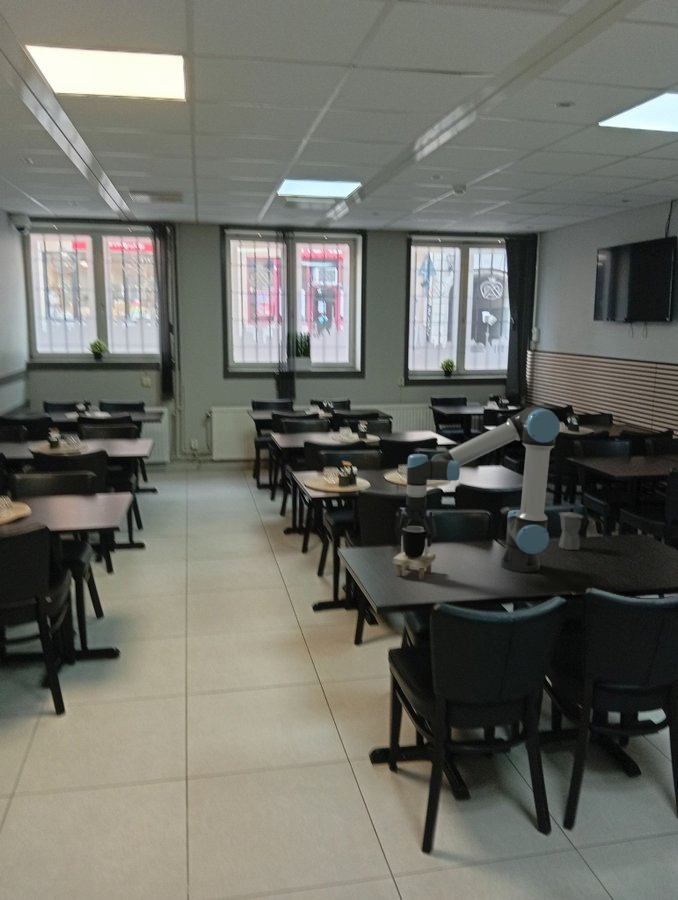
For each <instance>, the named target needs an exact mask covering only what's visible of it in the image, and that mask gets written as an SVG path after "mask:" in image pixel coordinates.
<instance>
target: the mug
mask: <svg viewBox="0 0 678 900" xmlns="http://www.w3.org/2000/svg"><path fill="white" fill-rule="evenodd" d="M426 538H427V536H426V530H425V531H424V529H423V527H422V526H420V525H418V526H417V525H408V526H407V527H406V528H405V529H404V528H403V547H404V552H405V554H406V555H407V556H410V557H420V556H422V554H423V553H425V539H426Z"/></svg>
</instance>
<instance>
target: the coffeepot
mask: <svg viewBox="0 0 678 900" xmlns="http://www.w3.org/2000/svg"><path fill="white" fill-rule="evenodd" d="M557 514H558V515H559V517H560V527H561V528H560V529H561V530H562V531H561V534H560V538H559V542H558V546H559V547H561V548H565V549H579V547H580V548H581V544H580V542H581V541H580V535H582V536H583V535H585V534H586V533H587V532H586V531H587V529H588V527H589V525H590V521H589V518H588V516H584V515H582V514H580V513H578V512H574V508H572V507H571V508H569V511H567V512H566V511H565V512H563V511H562V512H558V513H557ZM582 521H584V524H583V525H584V526H583V528H582V532H581V531H580V529H581V523H582ZM579 531H580V532H579ZM559 547H558V548H559ZM579 550H580V549H579Z"/></svg>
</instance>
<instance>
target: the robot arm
mask: <svg viewBox="0 0 678 900" xmlns="http://www.w3.org/2000/svg"><path fill="white" fill-rule="evenodd" d="M560 427H561V424H560V420H559V418H558V417H557V415H556V414H555V412H553V411H551V410H549V409H547V408H543V407H541V406H530V407H528V408H525V409H524V410H522V411H520V412H518V413H516V414H515V415H512V416H511V417H509V418H507V420H506V422H504V423H502V424H500V425H498V426H495V427H494V428H492V429H490V430H488V431H486V432H484V433H481V434H480V435H478V436H475V437H473V438H472V439H471V438H470V439H469V440H467V441H465V442H463V443H461V444H458V445H457V446H455V447H453V448H451V449H448V450H447V451H445V452H443V453H438V454H435V455H433V456H432V458H430V459H429V458H428V455H427V454H423V453H422V454H421V453H413V454H409V456H408V457H407V466H406V470H407V471H406V500H405V501H406V502H405V505H406V506H405V507H399V508H397V513H398V515H397V518H396V523H395V528H394V531H393V532H394V533H395V534H397V535H398V542H399V544H401V545H400V552H404V547H403V528H404V529H405V528H406V527H407V526H409V524H410V523H411V521H412V520H417V521H419V523H420V524H421V527H423V529H424V531H425V530H426V539H425V548H424V553H425V556H427V555H428V554H429V553H430V552H429V550H430V549H429V548H430V547H431V546H432V539H434V538H435V537H437V529H436V523H435V518H434V516H435V511H434V510H428V509H427V493H428V491H427V489H428V481H444V482H446V481H449V482H451V481H452V482H453V481H458V480H459V479H460V472H461V469H460V468H461V466H463V465H465V464H467V463H470V462H471V461H474V460H476V459H477V458H480V457H482V456H484V455H486V454H489V453H490V452H492V451H494V450H496V449H499V448H501V447H503V446H505V445H507V444H509V443H511V442H513V441H522V445H523V446H524V447H525V457H524V466H523V467H524V469H523V479H522V489H521V490H522V491H521V492H522V493H521V500H520V501H521V503H520V509H510V510H509V511H508V513H507V517H506V518H507V519H506V520H507V524H506V526H507V527H506V543H505V544H506V545H505V549H504V551H503V554H502V555H501V558H500V566H501V567H502V568H503V569H505V570H508V571H511V572H517V573H533V572H536V571H540V568H541V567H540V565H541V563H540V559H539V555H538V554H539V553H540V552H542V551H544V550H545V549H546V548H547V547H548V545H549V543H550V542H549V541H550V536H549V532H548V516H547V514H545V506H546V496H547V484H548V473H549V463H550V454H551V450H552V449H553V448H554V447H555V446H556V437H557V436H558V434H559V432H560ZM405 513H406V515H407V516H406V518H405V521H404V523H403V524H402V521H403V517H404V514H405ZM426 514H427V517H428V522H427V520H426V517H425V516H426ZM427 523H429V525H428V524H427ZM401 525H402V527H401Z"/></svg>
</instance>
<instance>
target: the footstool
mask: <svg viewBox="0 0 678 900" xmlns="http://www.w3.org/2000/svg"><path fill="white" fill-rule="evenodd" d="M436 557H437V555H436V554H435V553H430V552H429V554H428V555H427V556H425V552H423V554H422V556H420V557H410V556H407V555H406V554H405V552H401V551H400V553H398V554H397V555H395V556H394V557H393V558H392V565H393V564H394V565H396V571H395V572H396V577H402V574H403V573H402V572H403V570H404V569H405V571H409V570H410V567H412V568H419V569H418V580H420V581H425V575H426V574H425V573H427V574H431V573H432V563H433V562H434V561H435V560H436ZM402 568H403V569H402ZM408 569H409V570H408Z"/></svg>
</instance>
